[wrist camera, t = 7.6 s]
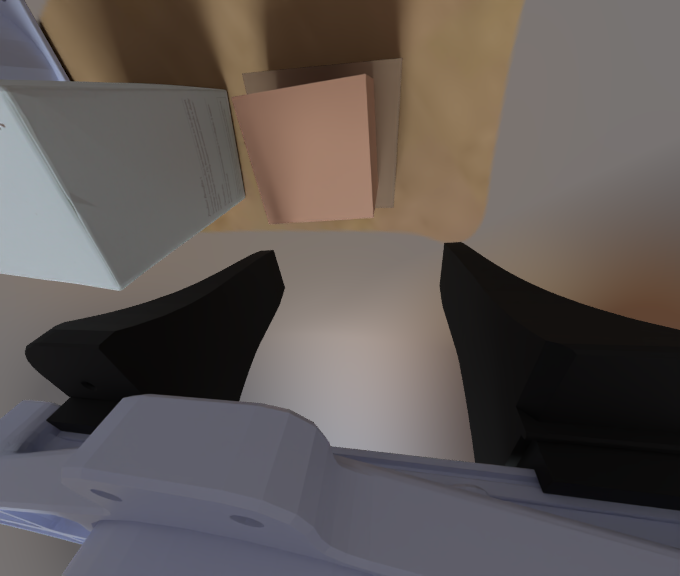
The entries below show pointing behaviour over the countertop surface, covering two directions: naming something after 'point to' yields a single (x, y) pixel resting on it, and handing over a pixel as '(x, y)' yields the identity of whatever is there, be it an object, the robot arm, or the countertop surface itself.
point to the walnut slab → (385, 106)
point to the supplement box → (109, 176)
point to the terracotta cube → (313, 149)
